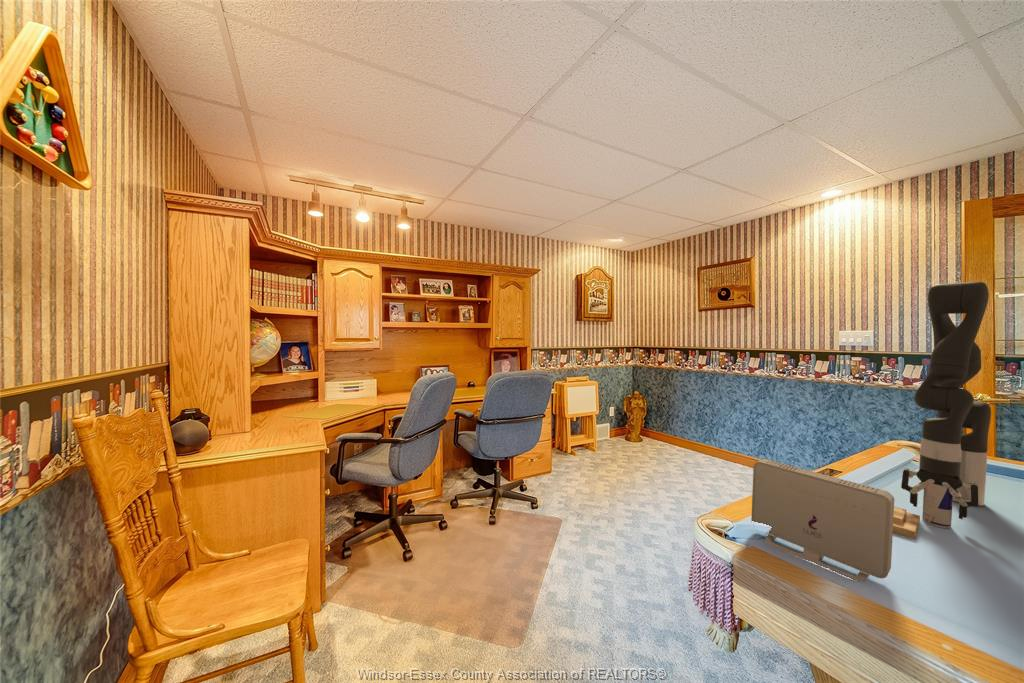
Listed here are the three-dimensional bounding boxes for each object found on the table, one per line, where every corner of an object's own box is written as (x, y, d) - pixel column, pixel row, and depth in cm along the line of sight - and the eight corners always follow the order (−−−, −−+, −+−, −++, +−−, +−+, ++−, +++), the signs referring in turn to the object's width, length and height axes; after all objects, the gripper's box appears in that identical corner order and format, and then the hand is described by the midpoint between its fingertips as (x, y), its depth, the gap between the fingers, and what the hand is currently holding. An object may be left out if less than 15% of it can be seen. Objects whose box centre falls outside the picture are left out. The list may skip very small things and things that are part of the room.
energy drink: (957, 530, 99) (959, 487, 99) (933, 527, 100) (936, 485, 100) (938, 520, 104) (940, 480, 104) (916, 518, 106) (918, 478, 105)
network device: (747, 535, 95) (750, 461, 94) (760, 525, 100) (763, 455, 99) (884, 594, 74) (889, 500, 73) (892, 578, 79) (896, 489, 79)
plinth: (853, 503, 114) (853, 492, 114) (919, 522, 103) (920, 510, 103) (843, 516, 106) (844, 505, 105) (914, 539, 94) (915, 526, 94)
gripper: (981, 460, 98) (977, 518, 99) (904, 446, 110) (902, 498, 110) (981, 466, 94) (977, 527, 94) (901, 451, 105) (898, 505, 106)
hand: (937, 511), depth 102 cm, fingers open, 8 cm apart
